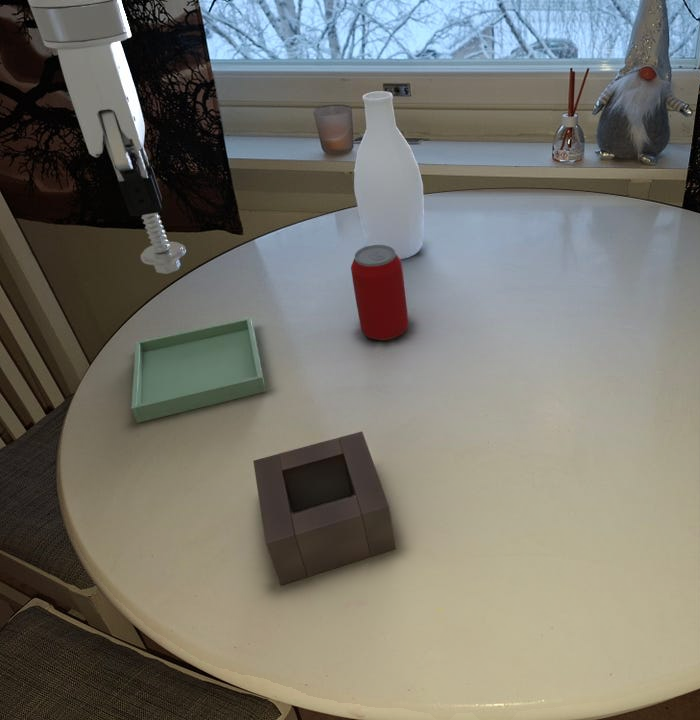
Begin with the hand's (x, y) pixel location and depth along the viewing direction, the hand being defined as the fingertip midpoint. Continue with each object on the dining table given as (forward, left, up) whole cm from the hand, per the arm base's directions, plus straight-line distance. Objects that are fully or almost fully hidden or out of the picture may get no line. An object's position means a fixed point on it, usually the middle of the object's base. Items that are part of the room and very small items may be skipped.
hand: (146, 207), depth 74 cm
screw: (0, 0, -8) cm, 8 cm away
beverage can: (+24, +2, -24) cm, 34 cm away
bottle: (+32, +26, -24) cm, 48 cm away
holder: (+10, -30, -24) cm, 40 cm away
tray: (-1, +2, -24) cm, 24 cm away
